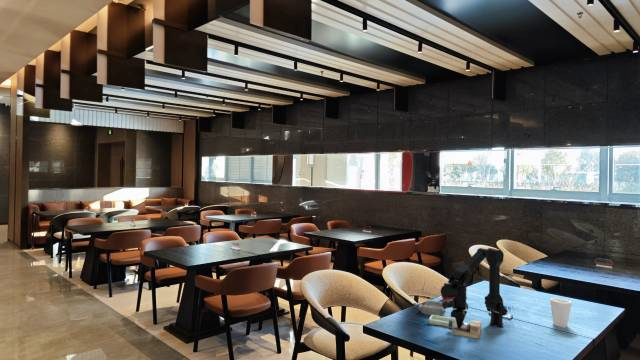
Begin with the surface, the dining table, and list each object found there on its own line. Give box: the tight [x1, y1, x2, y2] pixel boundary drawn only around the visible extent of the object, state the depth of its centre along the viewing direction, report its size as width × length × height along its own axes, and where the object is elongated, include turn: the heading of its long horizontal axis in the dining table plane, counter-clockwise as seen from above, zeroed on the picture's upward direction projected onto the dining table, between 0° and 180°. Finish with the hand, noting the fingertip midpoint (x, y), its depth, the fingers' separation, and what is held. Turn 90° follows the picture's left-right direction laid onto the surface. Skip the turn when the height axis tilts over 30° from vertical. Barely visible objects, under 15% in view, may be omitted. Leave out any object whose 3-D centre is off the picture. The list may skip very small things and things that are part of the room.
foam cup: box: [550, 297, 572, 328], centre depth 215 cm, size 10×9×13 cm
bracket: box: [451, 319, 482, 340], centre depth 201 cm, size 8×13×6 cm, turn 64°
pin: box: [448, 320, 471, 331], centre depth 202 cm, size 3×11×3 cm, turn 64°
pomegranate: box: [440, 293, 454, 301], centre depth 254 cm, size 10×10×9 cm
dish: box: [418, 300, 447, 316], centre depth 231 cm, size 14×14×5 cm
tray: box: [428, 315, 456, 328], centre depth 214 cm, size 9×16×2 cm, turn 64°
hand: (459, 327), depth 202 cm, fingers closed on pin, 3 cm apart
